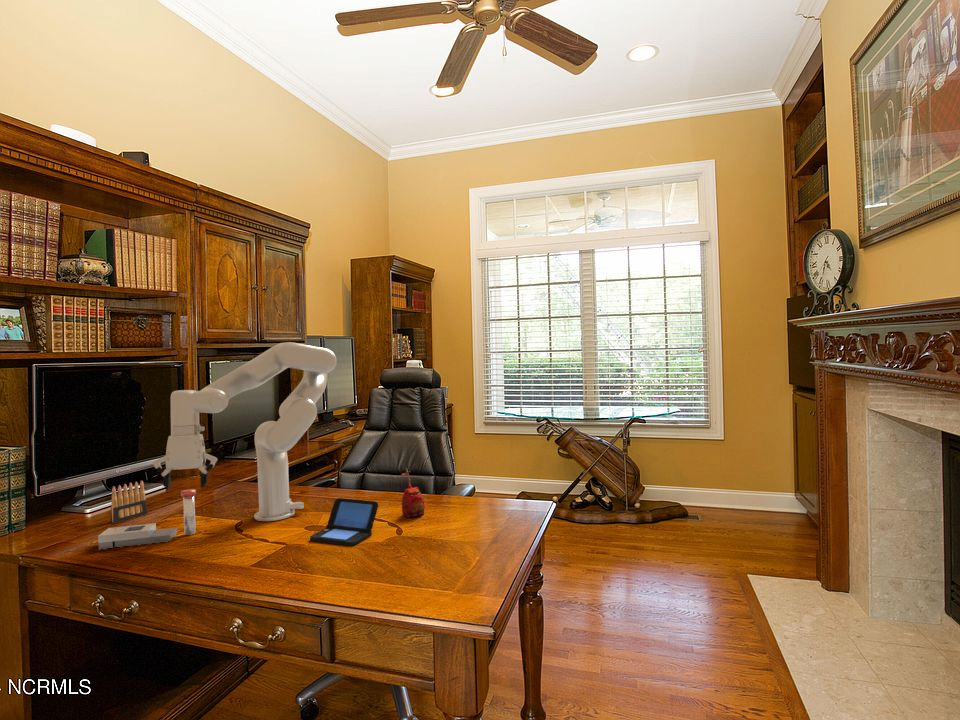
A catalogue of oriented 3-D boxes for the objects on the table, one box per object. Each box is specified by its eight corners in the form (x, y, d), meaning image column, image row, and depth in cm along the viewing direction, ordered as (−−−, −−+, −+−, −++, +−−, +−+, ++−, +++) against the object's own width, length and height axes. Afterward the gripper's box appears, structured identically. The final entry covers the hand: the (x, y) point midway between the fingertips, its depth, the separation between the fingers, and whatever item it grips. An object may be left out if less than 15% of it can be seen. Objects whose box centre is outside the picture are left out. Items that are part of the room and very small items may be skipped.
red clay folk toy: (409, 520, 166) (407, 472, 165) (397, 515, 171) (395, 469, 171) (428, 514, 171) (427, 468, 170) (416, 510, 176) (415, 465, 176)
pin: (199, 531, 161) (197, 488, 161) (195, 535, 158) (194, 491, 157) (184, 532, 160) (183, 489, 160) (181, 537, 156) (179, 493, 156)
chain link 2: (177, 534, 159) (176, 527, 159) (169, 541, 153) (169, 535, 153) (124, 539, 156) (124, 533, 156) (114, 548, 149) (114, 541, 149)
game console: (307, 542, 149) (306, 510, 149) (337, 526, 162) (336, 497, 162) (353, 547, 144) (352, 514, 144) (380, 531, 156) (379, 501, 156)
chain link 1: (156, 536, 158) (155, 523, 158) (148, 544, 151) (147, 530, 151) (109, 541, 155) (108, 528, 155) (98, 549, 148) (98, 535, 148)
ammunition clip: (113, 523, 172) (112, 487, 172) (110, 522, 173) (109, 486, 173) (147, 514, 182) (146, 479, 182) (144, 513, 183) (143, 479, 182)
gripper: (219, 428, 164) (219, 482, 164) (157, 430, 160) (157, 486, 160) (213, 431, 157) (214, 488, 157) (148, 433, 153) (149, 492, 152)
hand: (185, 487), depth 158 cm, fingers open, 9 cm apart
